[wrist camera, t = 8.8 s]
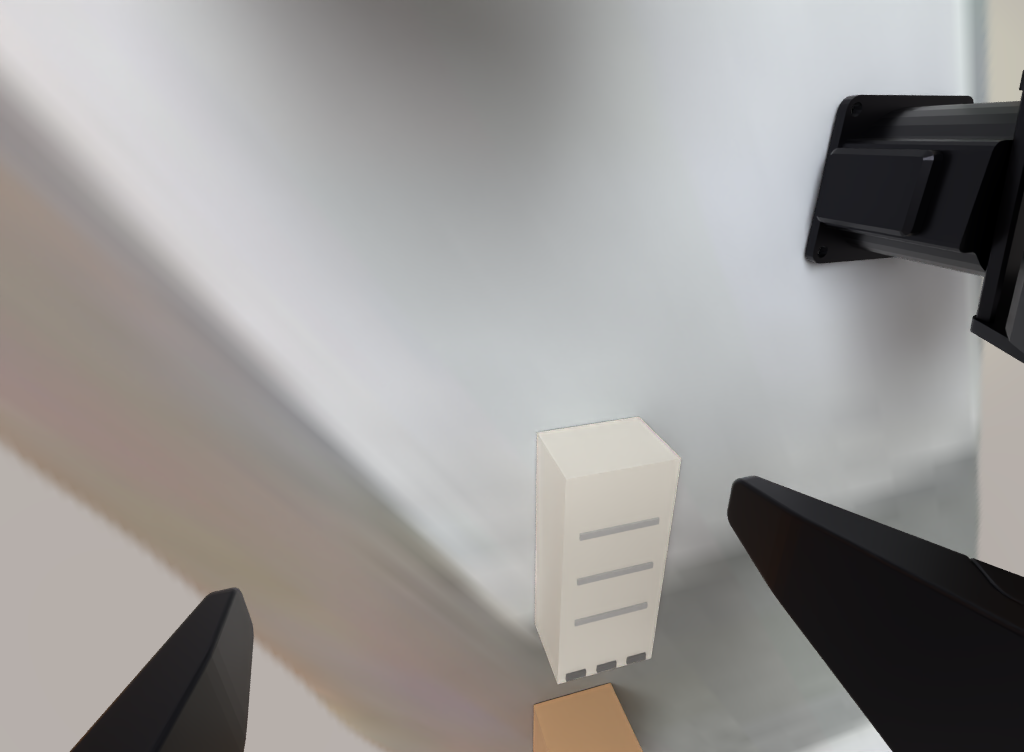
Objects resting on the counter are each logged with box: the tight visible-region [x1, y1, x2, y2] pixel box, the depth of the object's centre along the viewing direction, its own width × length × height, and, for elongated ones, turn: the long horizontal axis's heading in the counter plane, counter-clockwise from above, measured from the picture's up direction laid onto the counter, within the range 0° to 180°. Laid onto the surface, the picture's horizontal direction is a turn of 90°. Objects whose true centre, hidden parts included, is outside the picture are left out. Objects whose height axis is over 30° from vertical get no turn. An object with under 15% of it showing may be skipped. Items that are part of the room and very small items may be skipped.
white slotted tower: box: [535, 417, 681, 684], centre depth 25 cm, size 5×12×4 cm, turn 1°
